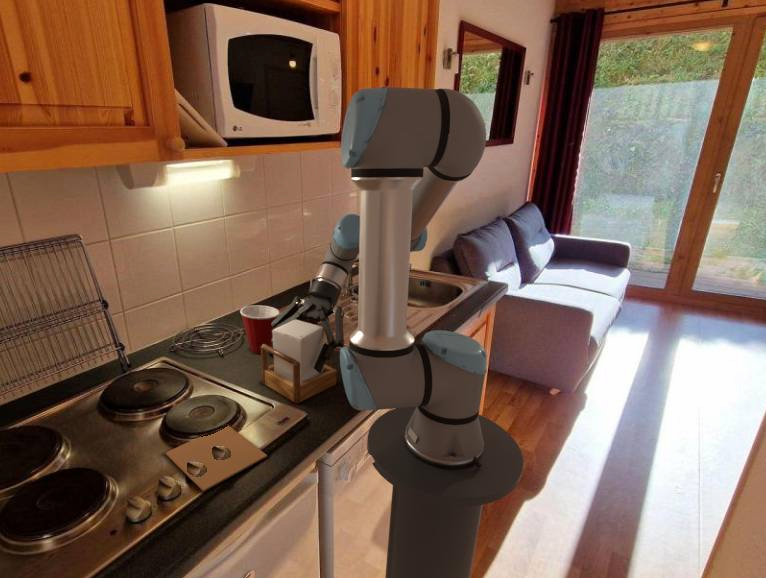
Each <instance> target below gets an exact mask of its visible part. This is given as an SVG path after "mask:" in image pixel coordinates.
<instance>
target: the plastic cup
mask: <svg viewBox="0 0 766 578" xmlns="http://www.w3.org/2000/svg"><path fill="white" fill-rule="evenodd" d="M239 313H240V314H241V316H242V317H241V318H242V322H243V325H244V329H245V334H246V338H247V341H248V345H249V349H250V351H251V353H253V354H258V355H261V346H262V345H263V344H266V345H268V346H270V347H271V345H272V342H271V339H272V338H273V333H272V330H274V329H275V328H274V327H273V326H272V325H271V323H272V322H273V321H274V320H275V319H276V318H277V317H278V316H279V315H280V310H279V309H278V308H275V307H274V306H269V305H262V304H261V305H260V304H258V305H257V304H255V305H247V306H244V307H242V308H241V309H240V311H239Z"/></svg>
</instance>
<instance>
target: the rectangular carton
mask: <svg viewBox="0 0 766 578" xmlns="http://www.w3.org/2000/svg"><path fill="white" fill-rule="evenodd" d="M272 333H273V349H275V350H277V351H279V352H281V353H283V354H285V355H287V356H289V357H291V358H293V359H295V360H297V361H298V362H299V363H300V383H302V382H305V381H307V380H309V379H311V378H313V377H316V376H318V375H320V374H322V373H323V369H322V371H321V373H319V372H317V371H316V370H315V369H314V366H315V363H316V361H317V359H318V356H319V354H320V352H321V350H322V347H323V345H324V327H323V326H321V325H318V324H317V325H314V324H310V323H307V322H303V321H300V320H296V319H295V320H292V321H290V322H288V323H286V324H284V325H282V326H280V327H278V328H274V330H272ZM273 364H274V372H275V373H277V374H278V375H280V376H282V377H284V378H285V379H287V380H289V381H291V382H292V383H293V364H291V363H289V362H287V361H285V360H283V359H281V358H280V357H278V356H276V355H274V358H273Z"/></svg>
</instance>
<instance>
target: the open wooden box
mask: <svg viewBox="0 0 766 578" xmlns="http://www.w3.org/2000/svg"><path fill="white" fill-rule="evenodd" d="M268 352H270V353H272V354H274V355H276V356H278V357H280V358H281V359H283V360H285V361H287V362H289V363H291V364H293V383H292V382H291V381H289V380H287V379H285V378H284V377H282V376H280V375H278V374H277V373H275V372H274V363H273V364H270V365H269V355H268ZM260 361H261V362H260V363H261V383H262V385H265V386H267V387H269V388H270V389H271V390H273V391H275V392H277V393H278V394H279V395H282V396H283V397H285V398H286V399H288V400H290V401H291V402H293V403H294V404H297V405H298V404H300V403H301V402H304V401H305V400H307V399H310V398H311V397H313V396H315V395H317V394H320V393H322V392H324V391H326V390H329V389H330V388H332V387H335V386H337V376H338V375H337V374H338V373H337V372H338V371H337V369H335V368H333V367H331V366H329V365H327V364H326V363H325V364H324V366H323V373H322V374H320V375H318V376H316V377H313V378H311V379H309V380H307V381H305V382H302V383H300V363H299V362H298V361H297V360H295V359H293V358H291V357H289V356H287V355H285V354H283V353H281V352H279V351H277V350H275V349H273V348H271V347H270V346H268V345H266V344H263V345H262V346H261V354H260Z"/></svg>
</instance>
